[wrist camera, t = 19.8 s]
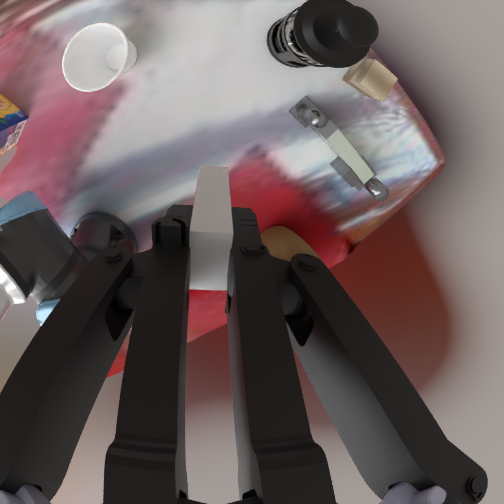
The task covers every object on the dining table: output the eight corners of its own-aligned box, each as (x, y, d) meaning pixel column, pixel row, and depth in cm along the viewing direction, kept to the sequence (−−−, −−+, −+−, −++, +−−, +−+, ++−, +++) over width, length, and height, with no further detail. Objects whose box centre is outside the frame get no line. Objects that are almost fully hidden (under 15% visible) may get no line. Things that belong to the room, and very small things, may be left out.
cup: (153, 29, 31) (134, 19, 22) (144, 84, 37) (123, 90, 28) (97, 32, 29) (66, 27, 20) (90, 86, 35) (59, 94, 26)
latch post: (320, 112, 43) (338, 121, 36) (304, 127, 44) (319, 138, 38) (305, 95, 41) (320, 101, 35) (288, 111, 42) (301, 120, 36)
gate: (361, 163, 48) (375, 174, 44) (350, 172, 50) (364, 184, 45) (318, 112, 42) (330, 119, 38) (307, 122, 43) (318, 130, 39)
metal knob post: (375, 173, 51) (398, 193, 44) (355, 192, 53) (374, 214, 46) (352, 143, 47) (375, 160, 40) (330, 164, 49) (349, 183, 42)
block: (363, 95, 41) (383, 101, 36) (342, 79, 39) (360, 83, 34) (376, 74, 39) (397, 78, 33) (355, 58, 37) (375, 59, 31)
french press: (294, 81, 39) (355, 96, 21) (251, 44, 35) (280, 21, 17) (341, 39, 35) (427, 33, 16) (300, 1, 30) (366, -40, 12)
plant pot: (302, 199, 53) (329, 249, 40) (315, 256, 62) (337, 310, 49) (228, 222, 54) (232, 278, 42) (251, 275, 63) (259, 333, 51)
